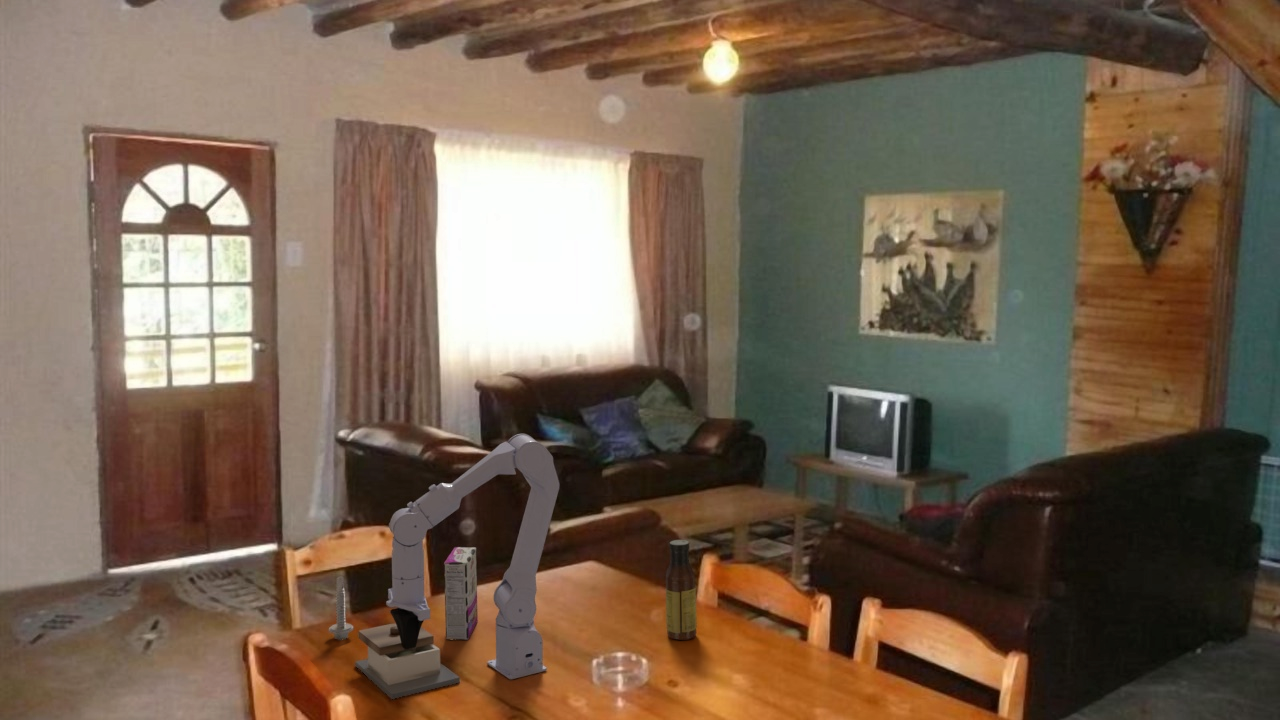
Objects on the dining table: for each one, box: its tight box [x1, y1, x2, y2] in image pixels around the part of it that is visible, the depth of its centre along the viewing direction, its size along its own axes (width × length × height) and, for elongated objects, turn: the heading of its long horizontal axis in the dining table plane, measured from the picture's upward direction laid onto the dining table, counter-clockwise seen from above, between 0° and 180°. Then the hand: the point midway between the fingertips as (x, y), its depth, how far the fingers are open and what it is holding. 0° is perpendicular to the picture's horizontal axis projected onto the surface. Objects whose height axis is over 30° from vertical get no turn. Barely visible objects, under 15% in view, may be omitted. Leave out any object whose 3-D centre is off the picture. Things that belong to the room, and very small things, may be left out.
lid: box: [358, 622, 435, 656], centre depth 198 cm, size 10×10×2 cm
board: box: [354, 658, 461, 700], centre depth 196 cm, size 18×13×1 cm
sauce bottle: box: [665, 539, 698, 641], centre depth 216 cm, size 6×6×20 cm
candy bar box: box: [443, 546, 479, 641], centre depth 218 cm, size 11×5×16 cm, turn 179°
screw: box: [328, 575, 354, 641], centre depth 214 cm, size 13×5×5 cm
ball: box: [397, 649, 413, 657], centre depth 196 cm, size 3×3×3 cm
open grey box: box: [367, 644, 441, 685], centre depth 195 cm, size 10×10×4 cm
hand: (409, 647), depth 193 cm, fingers closed
